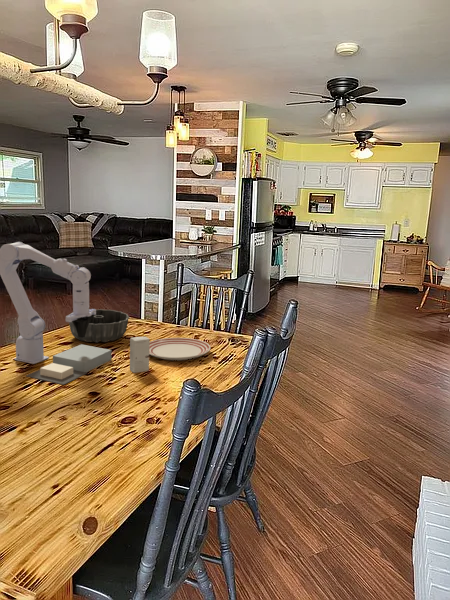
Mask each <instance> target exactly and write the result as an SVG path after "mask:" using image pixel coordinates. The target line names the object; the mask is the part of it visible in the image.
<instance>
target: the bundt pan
mask: <svg viewBox="0 0 450 600" xmlns="http://www.w3.org/2000/svg"><path fill="white" fill-rule="evenodd" d="M88 317H89V318H91V321H90V323H89V325H88V327H87V330H86V334H85V337H83V338H82V337H78V334H77V330H76V328H75V326H74V324H73V322H68V323H69V325H68V326H69V331H70V332H71V334H72V336H73V337H74V338H75V339H77V340H79V341H81V342H87V343H92V342H94V343H96V344H99V342H101V343H107V342H115V341H116V340H118V339H121V338H122V337H123V336H124V335H125V334H126V332H127V328H128V323H129V319H130V316H129V315H128V314H127V313H125V312H122V311H118V310H114V309H102V308H100V309H96V314H95V315H91V316H88Z"/></svg>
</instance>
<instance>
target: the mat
mask: <svg viewBox="0 0 450 600" xmlns="http://www.w3.org/2000/svg"><path fill="white" fill-rule="evenodd" d="M87 374H88V372H81V371H76V370H73V374H72V375H70V376H68V377H66V378H64V379H57V378H53V377H48V376H44V375H40V369H37V370H35V371H33V372H31V373H29V374H26V375H25V377H27V378H30V379H35V380H40V381H43V382H44V381H45V382H47V383H52V384H53V383H54V384H57V385H62V386H65V385H66V384H68V383H71V382H73V381H74V380H77V379H78V378H82V377H83V376H85V375H87Z"/></svg>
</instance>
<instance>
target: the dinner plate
mask: <svg viewBox="0 0 450 600" xmlns="http://www.w3.org/2000/svg"><path fill="white" fill-rule="evenodd" d="M210 351H211V345H210V344H209V343H208V342H206V341H203V340H200V339H196V338H195V339H194V338H189V337H167V338H159V339H155V340H151V341H150V344H149V356H152V357H155V358H159V359H161V360H166V361H174V360H175V361H176V360H177V361H178V362H179V361H187V360H188V359H189V360H191V359H192V358H193V359H197V358H199V357H201V356H204V355H206V354H207V353H209V352H210ZM193 359H192V360H193Z"/></svg>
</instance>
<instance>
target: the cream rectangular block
mask: <svg viewBox="0 0 450 600" xmlns="http://www.w3.org/2000/svg"><path fill="white" fill-rule="evenodd" d="M39 370H40V375H44V376H48V377H53V378H57V379H64V378H66V377H68V376H70V375H72V374H73V367H69V366H65V365H60V364H55V363H53V362H51V363H49V364H47V365H45V366H41V367H40V368H39Z"/></svg>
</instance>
